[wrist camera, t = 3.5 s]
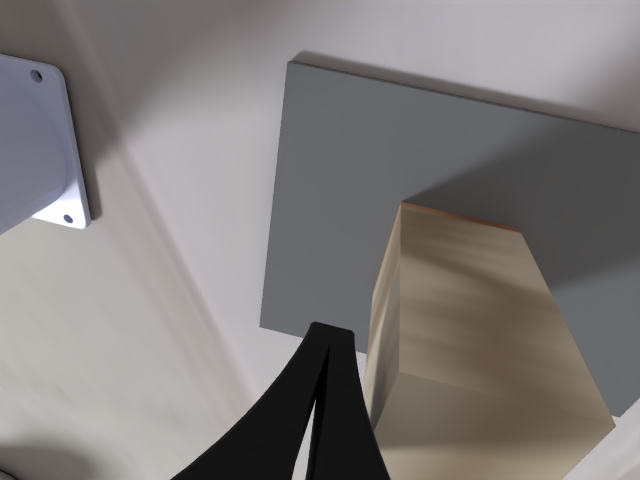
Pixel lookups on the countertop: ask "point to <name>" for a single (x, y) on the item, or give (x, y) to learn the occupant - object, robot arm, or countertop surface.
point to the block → (473, 358)
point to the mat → (452, 206)
